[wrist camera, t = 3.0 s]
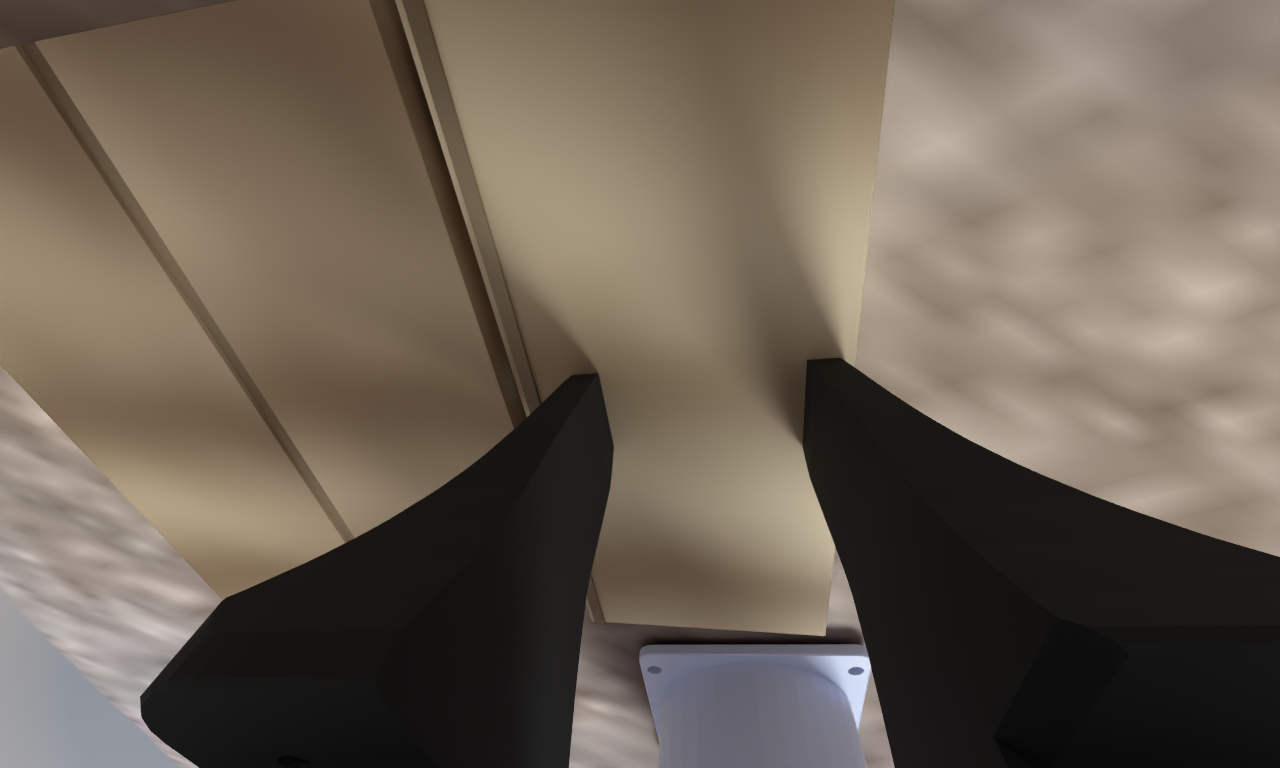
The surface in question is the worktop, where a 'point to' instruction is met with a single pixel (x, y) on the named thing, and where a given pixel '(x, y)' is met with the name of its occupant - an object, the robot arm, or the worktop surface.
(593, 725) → the worktop surface
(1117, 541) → the robot arm
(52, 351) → the floor panel
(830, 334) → the oak plank
